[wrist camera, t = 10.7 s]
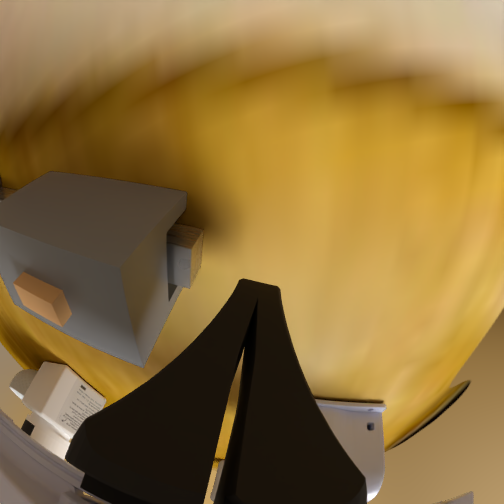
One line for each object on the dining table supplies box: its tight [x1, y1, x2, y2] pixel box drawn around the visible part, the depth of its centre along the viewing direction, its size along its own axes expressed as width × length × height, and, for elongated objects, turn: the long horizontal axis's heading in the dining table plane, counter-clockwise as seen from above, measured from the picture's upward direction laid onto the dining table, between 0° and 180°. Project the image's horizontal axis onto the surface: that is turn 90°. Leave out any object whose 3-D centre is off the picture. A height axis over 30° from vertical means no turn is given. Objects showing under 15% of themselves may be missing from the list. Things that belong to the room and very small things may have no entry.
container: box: [21, 362, 106, 460], centre depth 22 cm, size 8×8×13 cm
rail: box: [0, 177, 204, 289], centre depth 10 cm, size 16×7×4 cm, turn 81°
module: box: [0, 171, 187, 368], centre depth 9 cm, size 8×5×6 cm, turn 81°
